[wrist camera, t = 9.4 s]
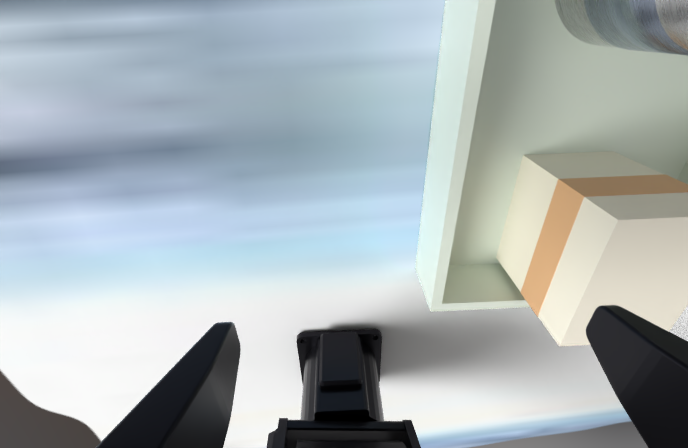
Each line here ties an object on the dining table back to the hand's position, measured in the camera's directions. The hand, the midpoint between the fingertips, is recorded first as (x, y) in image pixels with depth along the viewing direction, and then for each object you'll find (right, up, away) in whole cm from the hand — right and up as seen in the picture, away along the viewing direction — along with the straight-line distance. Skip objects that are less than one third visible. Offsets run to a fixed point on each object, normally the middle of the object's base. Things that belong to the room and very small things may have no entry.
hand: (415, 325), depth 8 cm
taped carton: (+11, +3, +12) cm, 16 cm away
